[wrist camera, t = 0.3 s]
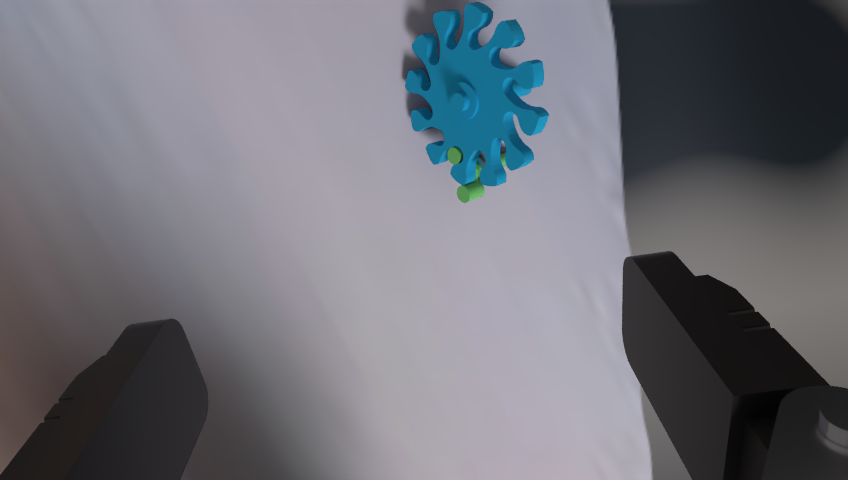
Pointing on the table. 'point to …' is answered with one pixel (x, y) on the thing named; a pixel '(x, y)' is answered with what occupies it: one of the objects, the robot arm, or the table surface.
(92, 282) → the table surface
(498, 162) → the gear
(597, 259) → the table surface
